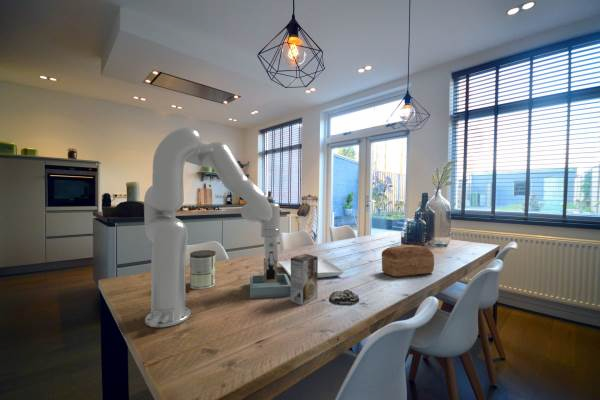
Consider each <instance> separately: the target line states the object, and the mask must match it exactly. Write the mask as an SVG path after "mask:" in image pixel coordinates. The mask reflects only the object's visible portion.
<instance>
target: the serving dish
mask: <svg viewBox="0 0 600 400" xmlns="http://www.w3.org/2000/svg"><path fill="white" fill-rule="evenodd" d="M288 276H289V275H288V273H277V283H264V274H250V275H249V299H264V298H265V299H266V298H279V297H280V298H281V297H282V298H283V297H290V290H291V280H290V279H289V278H290V277H288Z"/></svg>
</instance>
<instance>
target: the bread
mask: <svg viewBox="0 0 600 400" xmlns="http://www.w3.org/2000/svg"><path fill="white" fill-rule="evenodd" d="M434 268H435V255H434V253H433V252H432V251H431V249H430V248H428V247H427V246H424V245H423V246H422V245H416V244H415V245H414V244H402V245H395V246H390V247H387V248H386V249H383V250H382V252H381V271H382V272H383V273H384V274H386V275H388V276H391V277H406V276H417V275H424V274H425V275H426V274H431V273H433V272H434Z"/></svg>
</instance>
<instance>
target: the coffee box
mask: <svg viewBox="0 0 600 400" xmlns="http://www.w3.org/2000/svg"><path fill="white" fill-rule="evenodd" d="M318 259H319V257H318V255H317V256H316V255H312V254H306V253H304V254H301V255H296V256H293V257H290V260H291V277H290V283H291V290H290V296H289V297H290V298H289V299H290V301H291V302H293V303H295V304H298V305H301V306H305V305H306V304H308V303H310V302H313V301H315V300H316V299H318V279H319V278H318Z"/></svg>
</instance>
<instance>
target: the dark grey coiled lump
mask: <svg viewBox="0 0 600 400" xmlns="http://www.w3.org/2000/svg"><path fill="white" fill-rule="evenodd" d="M328 301H329V302H330V303H332V304H333V305H337V306H354V305H356V304H357V303H359V301H360V297H359V295H358V294H356V293H355V292H353V291H351V290H349V289H344V290H337V291H333V292H331V294H330V295H329V298H328Z"/></svg>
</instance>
